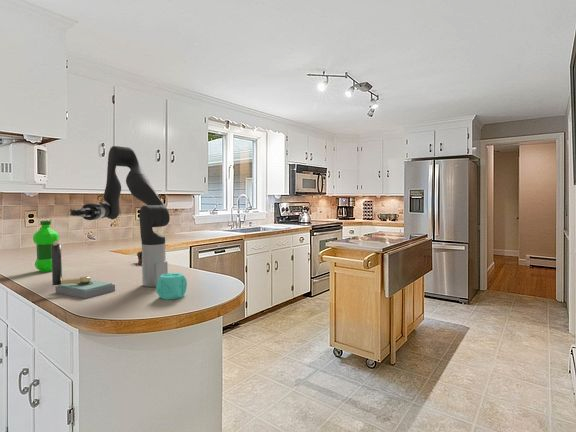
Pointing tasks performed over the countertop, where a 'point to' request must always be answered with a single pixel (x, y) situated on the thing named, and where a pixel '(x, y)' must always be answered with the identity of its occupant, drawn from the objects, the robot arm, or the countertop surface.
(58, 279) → the t key
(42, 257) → the plastic bottle
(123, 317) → the countertop surface
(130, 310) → the countertop surface
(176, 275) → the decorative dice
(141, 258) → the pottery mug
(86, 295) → the plate
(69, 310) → the countertop surface
